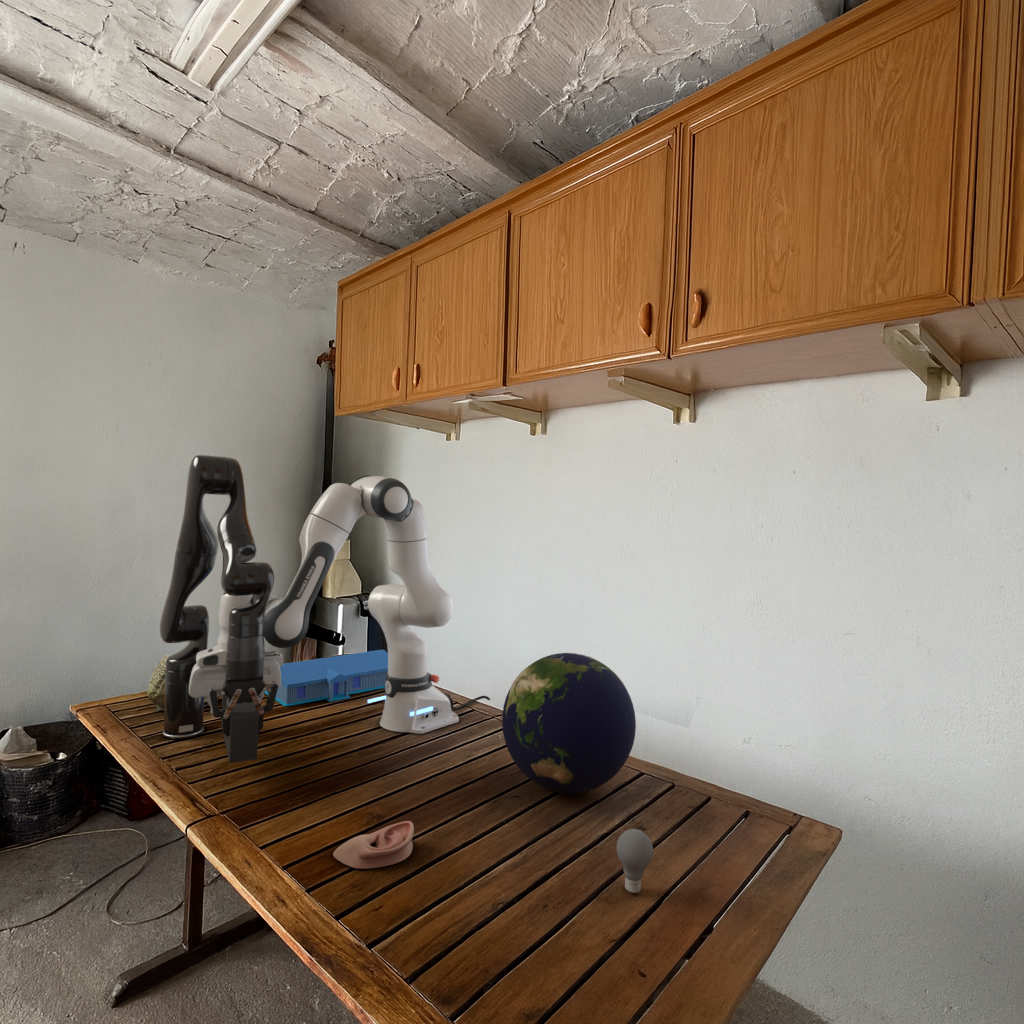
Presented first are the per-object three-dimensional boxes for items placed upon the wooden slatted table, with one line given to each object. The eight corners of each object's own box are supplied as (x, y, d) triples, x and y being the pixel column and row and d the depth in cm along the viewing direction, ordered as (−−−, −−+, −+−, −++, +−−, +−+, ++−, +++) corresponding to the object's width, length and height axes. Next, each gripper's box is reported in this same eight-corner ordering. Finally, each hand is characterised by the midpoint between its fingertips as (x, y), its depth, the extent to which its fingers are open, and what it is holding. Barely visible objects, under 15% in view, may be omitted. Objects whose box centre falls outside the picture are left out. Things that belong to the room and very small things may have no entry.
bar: (257, 759, 135) (258, 715, 135) (229, 763, 132) (231, 718, 132) (245, 723, 155) (246, 685, 155) (221, 726, 152) (222, 687, 152)
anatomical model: (325, 840, 109) (354, 809, 121) (324, 863, 109) (354, 830, 121) (397, 852, 107) (421, 819, 118) (396, 876, 107) (420, 840, 118)
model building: (289, 709, 186) (291, 675, 185) (258, 688, 204) (259, 657, 204) (403, 687, 212) (405, 657, 212) (366, 670, 230) (368, 643, 230)
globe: (477, 800, 135) (483, 660, 134) (527, 751, 163) (532, 634, 162) (615, 833, 124) (622, 681, 123) (643, 774, 151) (649, 649, 151)
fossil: (144, 707, 182) (145, 655, 182) (212, 696, 194) (213, 647, 194) (151, 716, 175) (153, 662, 175) (221, 703, 188) (223, 653, 188)
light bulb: (610, 879, 108) (613, 822, 108) (644, 879, 109) (647, 822, 109) (619, 902, 102) (622, 840, 102) (655, 901, 103) (658, 840, 103)
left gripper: (278, 648, 143) (275, 723, 143) (207, 653, 136) (204, 731, 136) (283, 656, 136) (280, 734, 137) (209, 662, 129) (206, 744, 130)
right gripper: (281, 647, 158) (279, 702, 158) (189, 653, 148) (187, 712, 149) (285, 653, 153) (283, 710, 153) (190, 660, 143) (188, 720, 143)
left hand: (242, 732), depth 136 cm, fingers closed on bar, 5 cm apart
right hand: (235, 711), depth 151 cm, fingers open, 8 cm apart
